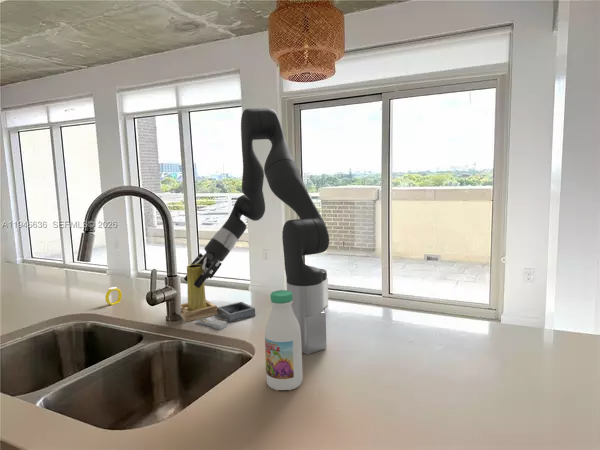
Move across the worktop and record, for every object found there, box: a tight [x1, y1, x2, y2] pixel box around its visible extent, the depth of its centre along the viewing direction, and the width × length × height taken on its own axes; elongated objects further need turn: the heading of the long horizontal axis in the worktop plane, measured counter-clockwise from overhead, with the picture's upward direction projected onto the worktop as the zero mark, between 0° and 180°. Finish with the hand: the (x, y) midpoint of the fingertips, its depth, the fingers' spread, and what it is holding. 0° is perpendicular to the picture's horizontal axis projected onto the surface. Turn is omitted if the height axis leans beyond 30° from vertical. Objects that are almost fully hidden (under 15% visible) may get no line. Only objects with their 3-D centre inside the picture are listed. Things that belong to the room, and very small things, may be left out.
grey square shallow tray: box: [216, 301, 256, 323], centre depth 131 cm, size 9×9×2 cm
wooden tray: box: [180, 299, 218, 322], centre depth 134 cm, size 11×11×2 cm
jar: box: [319, 268, 329, 310], centre depth 138 cm, size 9×8×12 cm
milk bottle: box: [264, 289, 303, 391], centre depth 87 cm, size 8×8×20 cm
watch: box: [104, 286, 123, 306], centre depth 147 cm, size 6×3×6 cm, turn 155°
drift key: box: [195, 317, 228, 330], centre depth 123 cm, size 10×3×1 cm, turn 56°
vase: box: [186, 263, 207, 311], centre depth 134 cm, size 6×6×14 cm
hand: (190, 283), depth 133 cm, fingers open, 8 cm apart
